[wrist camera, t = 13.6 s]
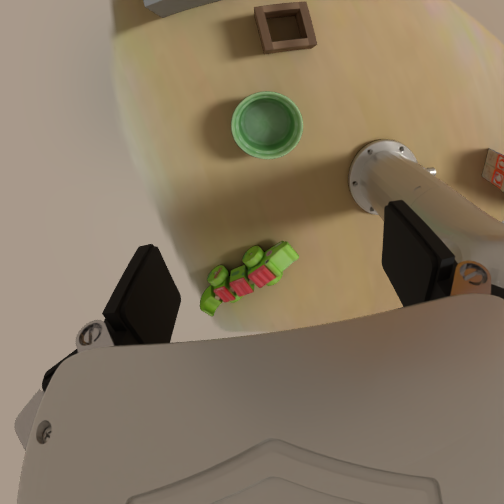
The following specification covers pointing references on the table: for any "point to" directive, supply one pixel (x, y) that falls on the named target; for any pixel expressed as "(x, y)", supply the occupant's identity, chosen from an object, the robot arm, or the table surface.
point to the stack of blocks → (494, 169)
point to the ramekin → (267, 125)
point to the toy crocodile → (247, 275)
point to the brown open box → (283, 11)
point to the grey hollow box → (173, 5)
